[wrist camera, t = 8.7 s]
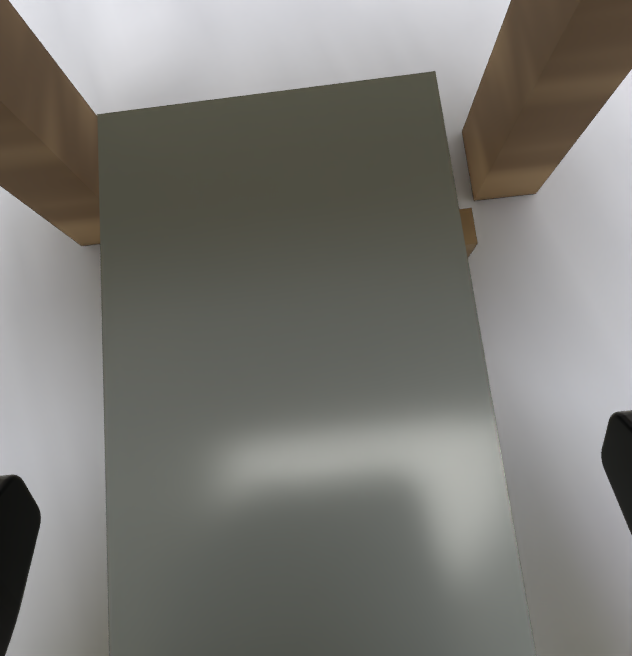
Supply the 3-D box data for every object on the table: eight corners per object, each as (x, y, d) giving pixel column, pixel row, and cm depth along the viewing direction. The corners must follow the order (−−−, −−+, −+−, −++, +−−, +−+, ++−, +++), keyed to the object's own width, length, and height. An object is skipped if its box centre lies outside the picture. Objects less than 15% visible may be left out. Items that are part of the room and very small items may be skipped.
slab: (410, 539, 16) (553, 756, 5) (272, 553, 16) (112, 796, 5) (378, 304, 17) (435, 71, 6) (252, 319, 17) (97, 115, 6)
